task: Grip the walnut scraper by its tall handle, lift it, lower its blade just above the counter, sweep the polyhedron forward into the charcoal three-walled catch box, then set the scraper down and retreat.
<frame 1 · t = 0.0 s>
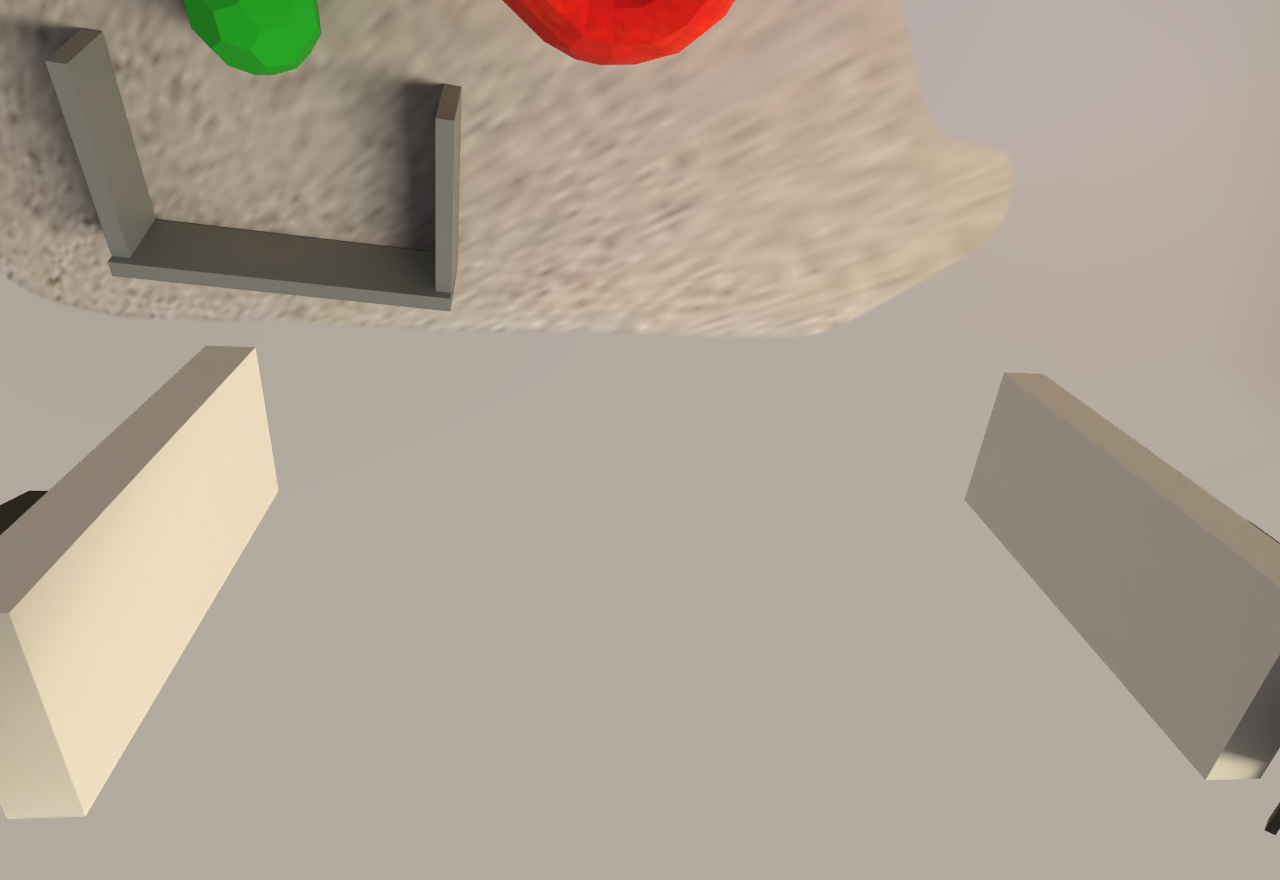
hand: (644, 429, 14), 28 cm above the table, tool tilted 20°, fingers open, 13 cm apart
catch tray: (293, 163, 39), on the table
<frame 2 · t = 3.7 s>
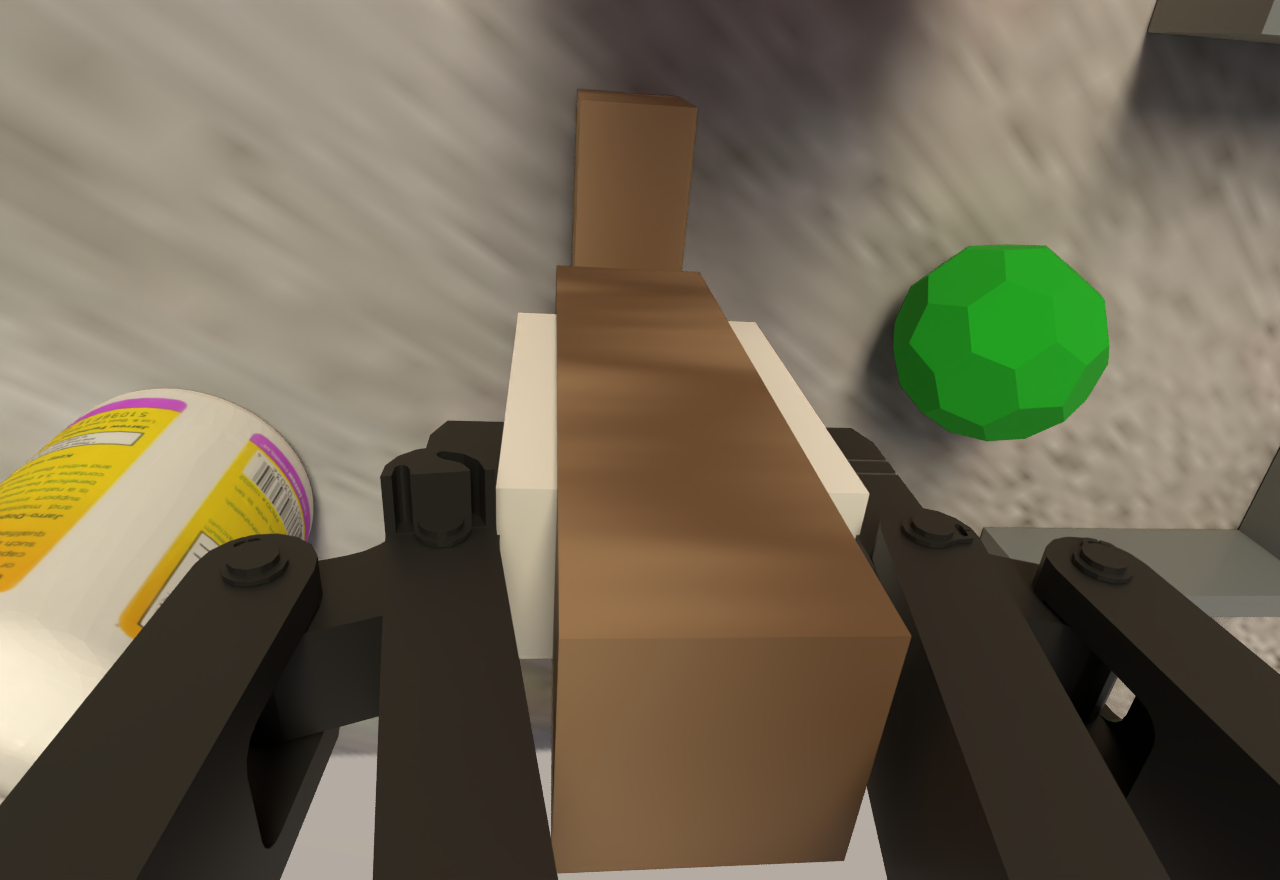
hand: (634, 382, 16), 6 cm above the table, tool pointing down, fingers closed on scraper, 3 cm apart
supplement bottle: (202, 483, 23), on the table
polyhedron: (951, 309, 22), on the table
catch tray: (1213, 323, 23), on the table
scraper: (615, 297, 21), on the table, touching gripper
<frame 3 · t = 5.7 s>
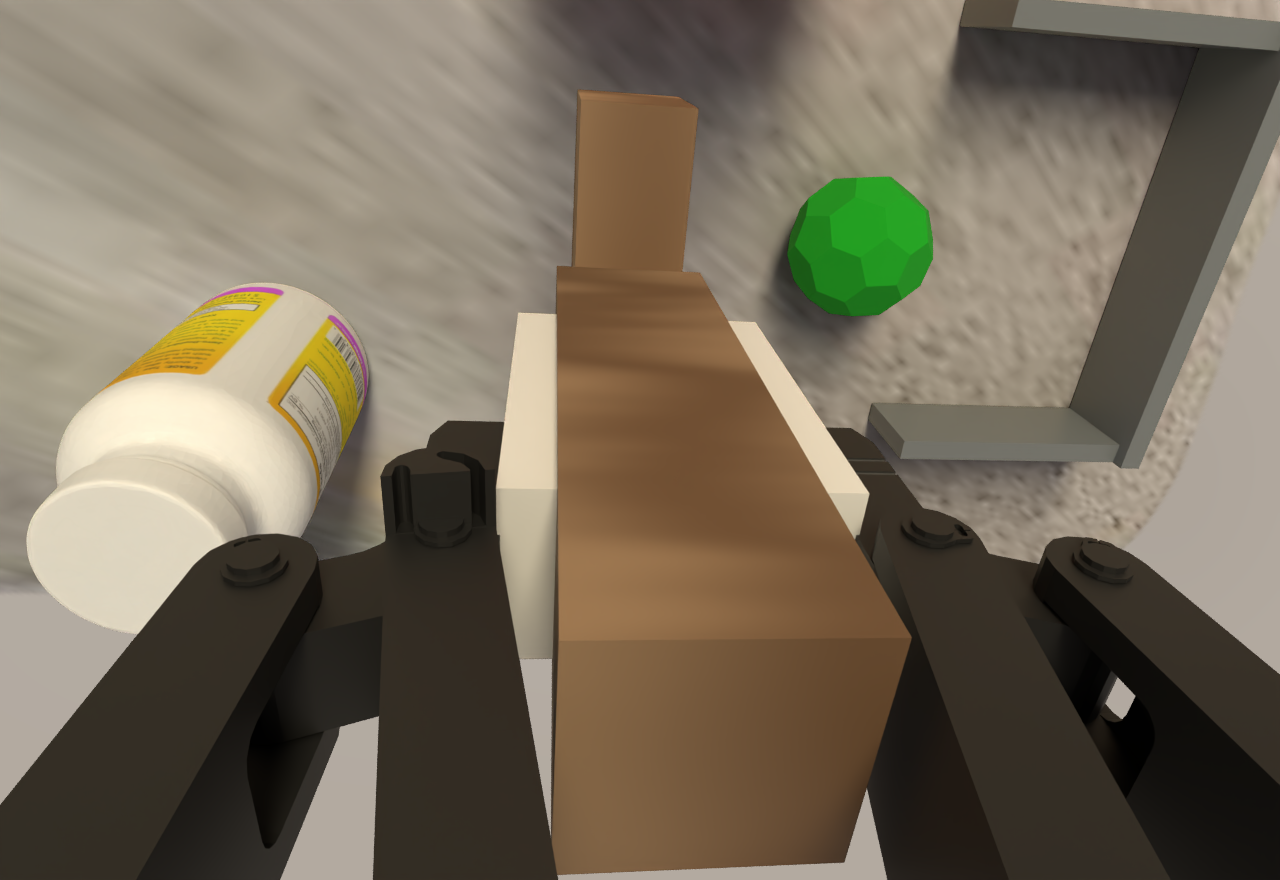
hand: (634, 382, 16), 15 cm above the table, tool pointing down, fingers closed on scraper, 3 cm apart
supplement bottle: (285, 359, 31), on the table
polyhedron: (835, 229, 30), on the table
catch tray: (1030, 241, 31), on the table
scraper: (615, 297, 21), point 9 cm above the table, touching gripper
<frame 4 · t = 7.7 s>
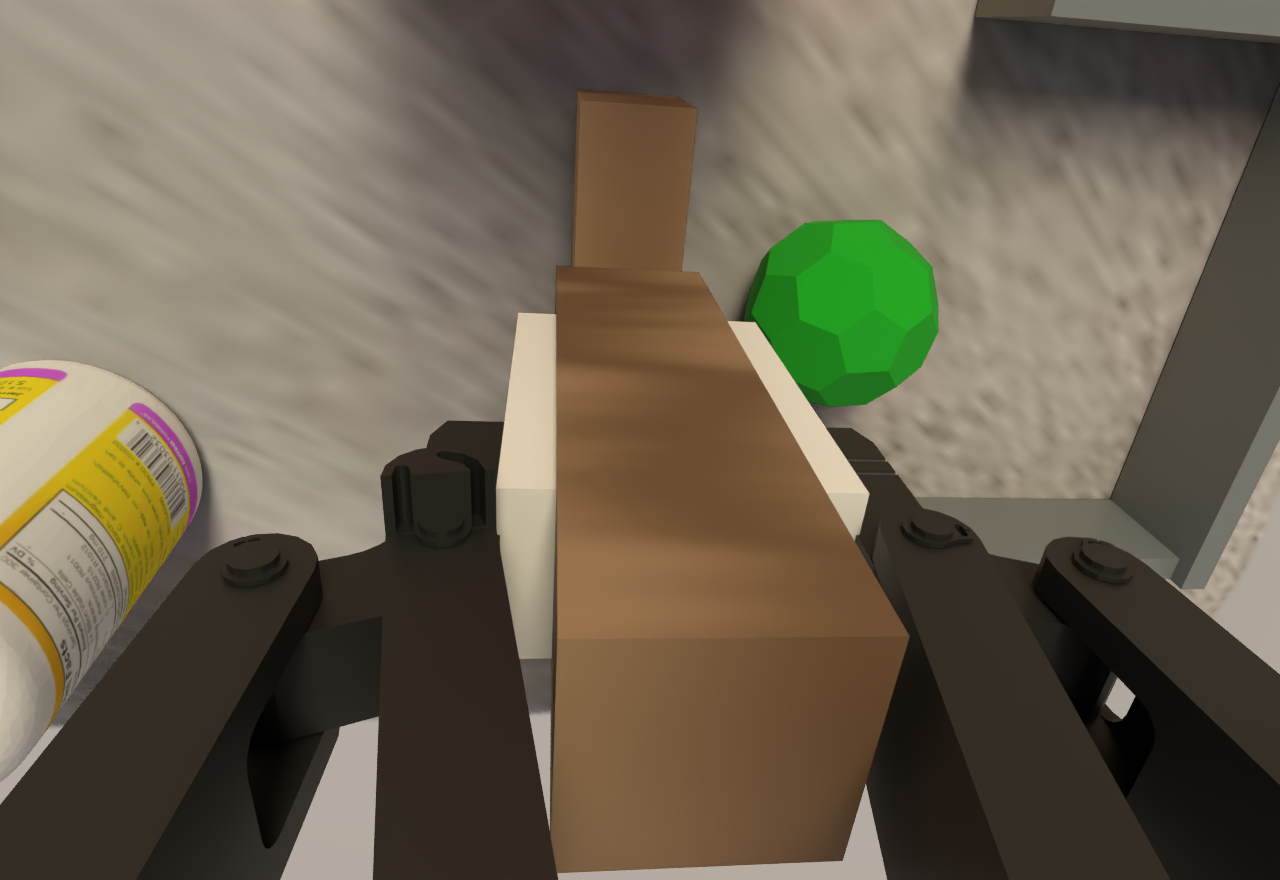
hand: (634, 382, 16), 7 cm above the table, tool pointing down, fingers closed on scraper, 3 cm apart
supplement bottle: (95, 453, 24), on the table
polyhedron: (811, 284, 23), on the table
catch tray: (1065, 297, 24), on the table
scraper: (615, 297, 21), point 2 cm above the table, touching gripper
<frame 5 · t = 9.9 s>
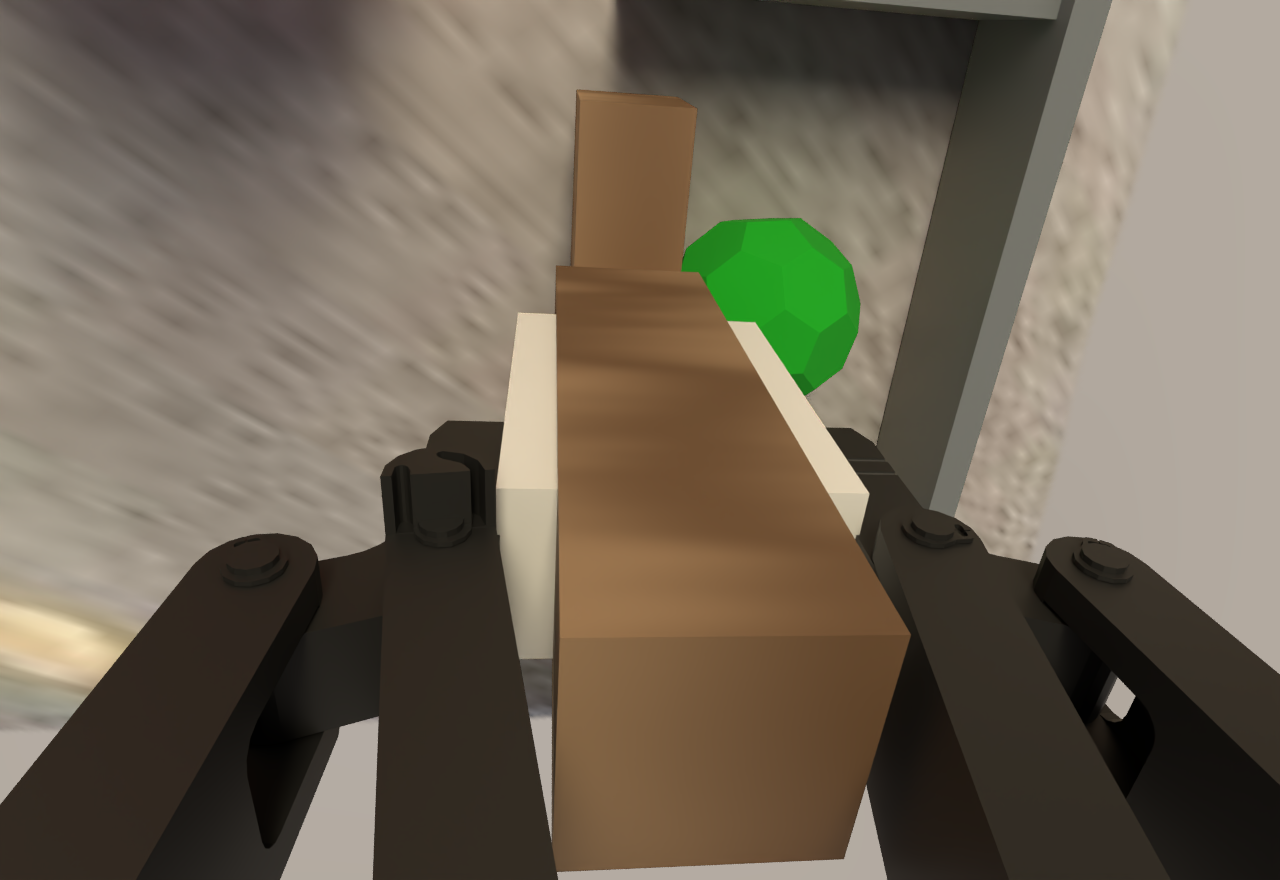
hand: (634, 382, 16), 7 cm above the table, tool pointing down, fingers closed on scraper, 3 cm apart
polyhedron: (739, 284, 23), on the table, touching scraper
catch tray: (773, 290, 23), on the table
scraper: (614, 297, 21), point 1 cm above the table, touching gripper, polyhedron
when the fingers open (6 cm above the table, at t = 11.8 s): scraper stays where it is, on the table.
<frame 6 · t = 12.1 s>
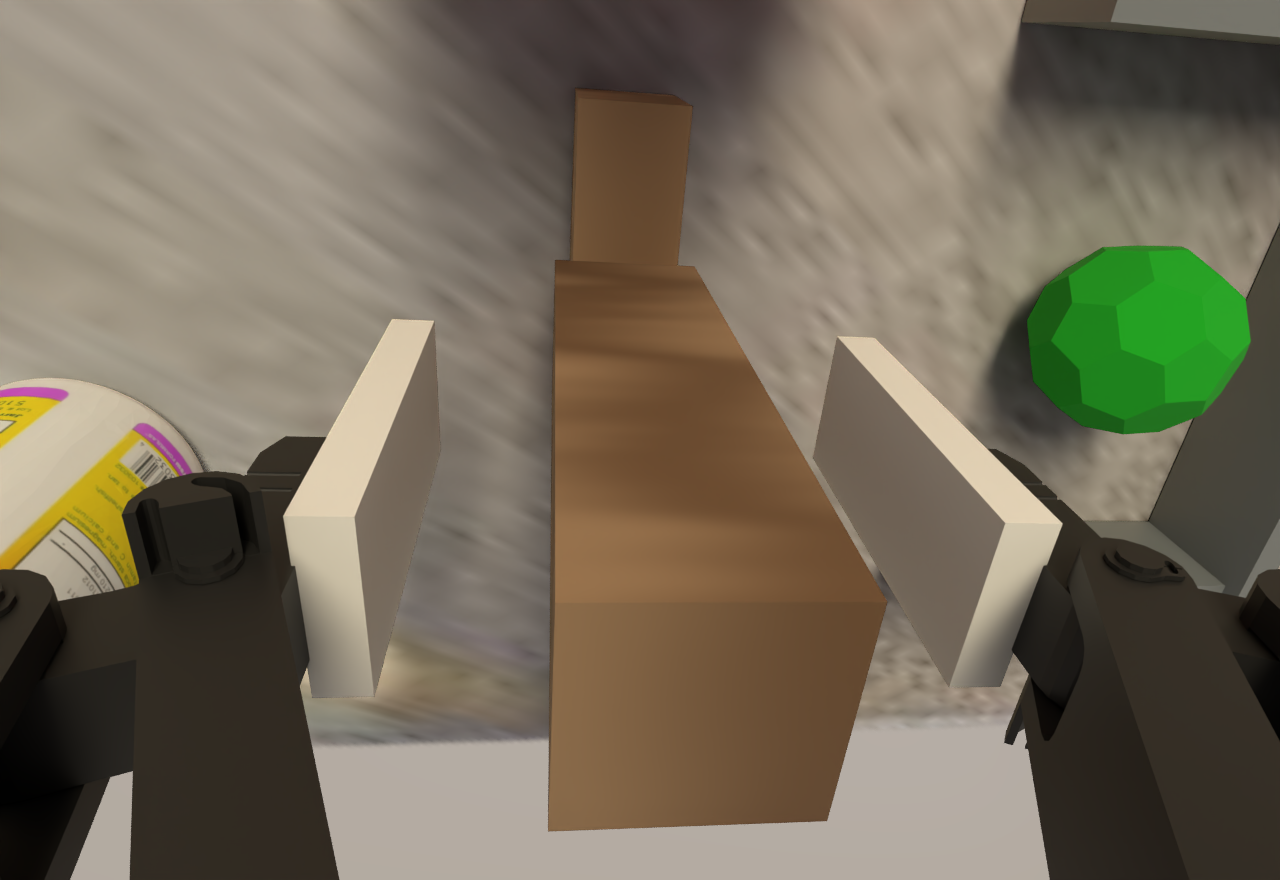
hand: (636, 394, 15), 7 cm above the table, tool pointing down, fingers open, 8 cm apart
supplement bottle: (98, 473, 23), on the table
polyhedron: (1073, 308, 23), on the table
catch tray: (1108, 314, 23), on the table
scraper: (613, 292, 21), on the table
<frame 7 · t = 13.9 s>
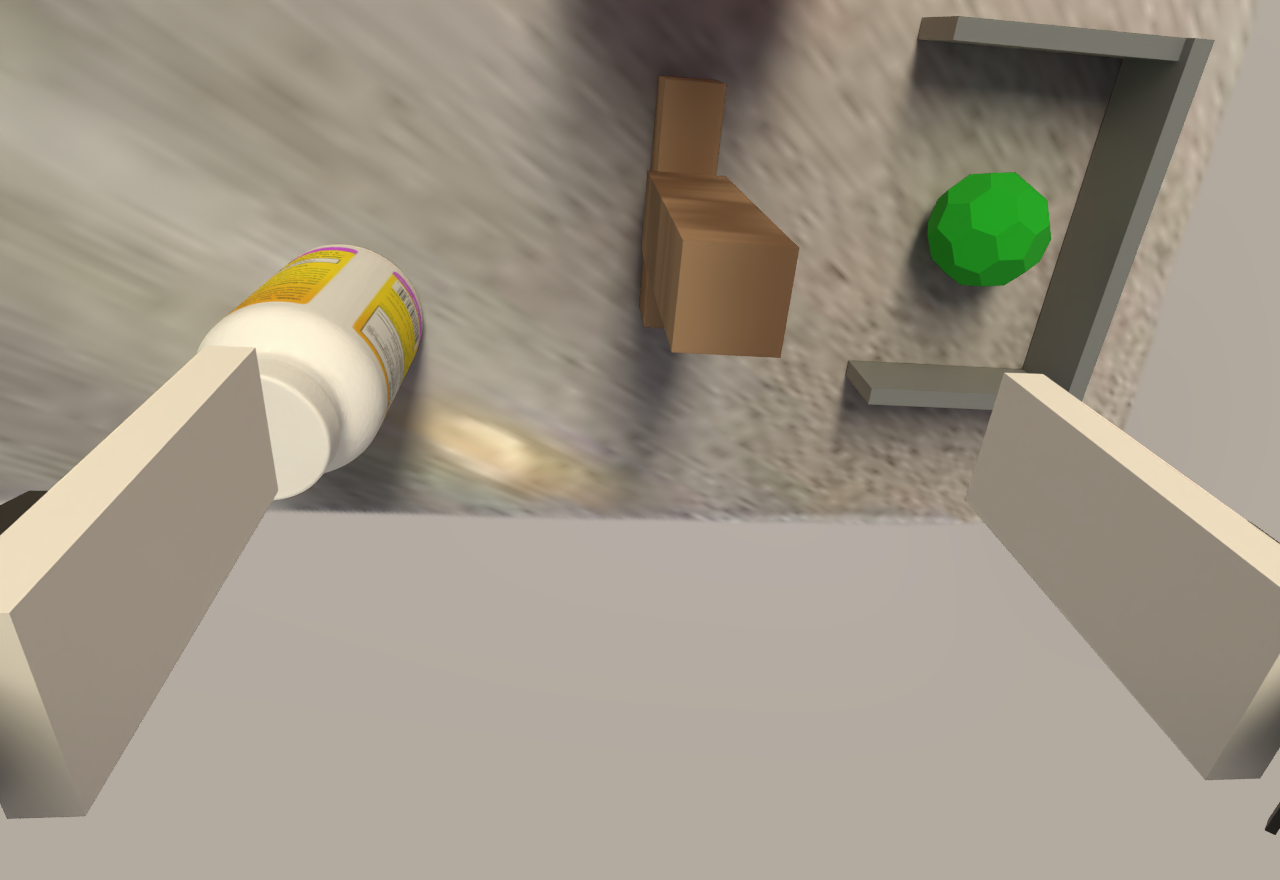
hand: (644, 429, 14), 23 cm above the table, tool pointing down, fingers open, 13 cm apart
supplement bottle: (354, 311, 37), on the table
polyhedron: (962, 217, 37), on the table
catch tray: (983, 221, 37), on the table
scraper: (674, 199, 35), on the table
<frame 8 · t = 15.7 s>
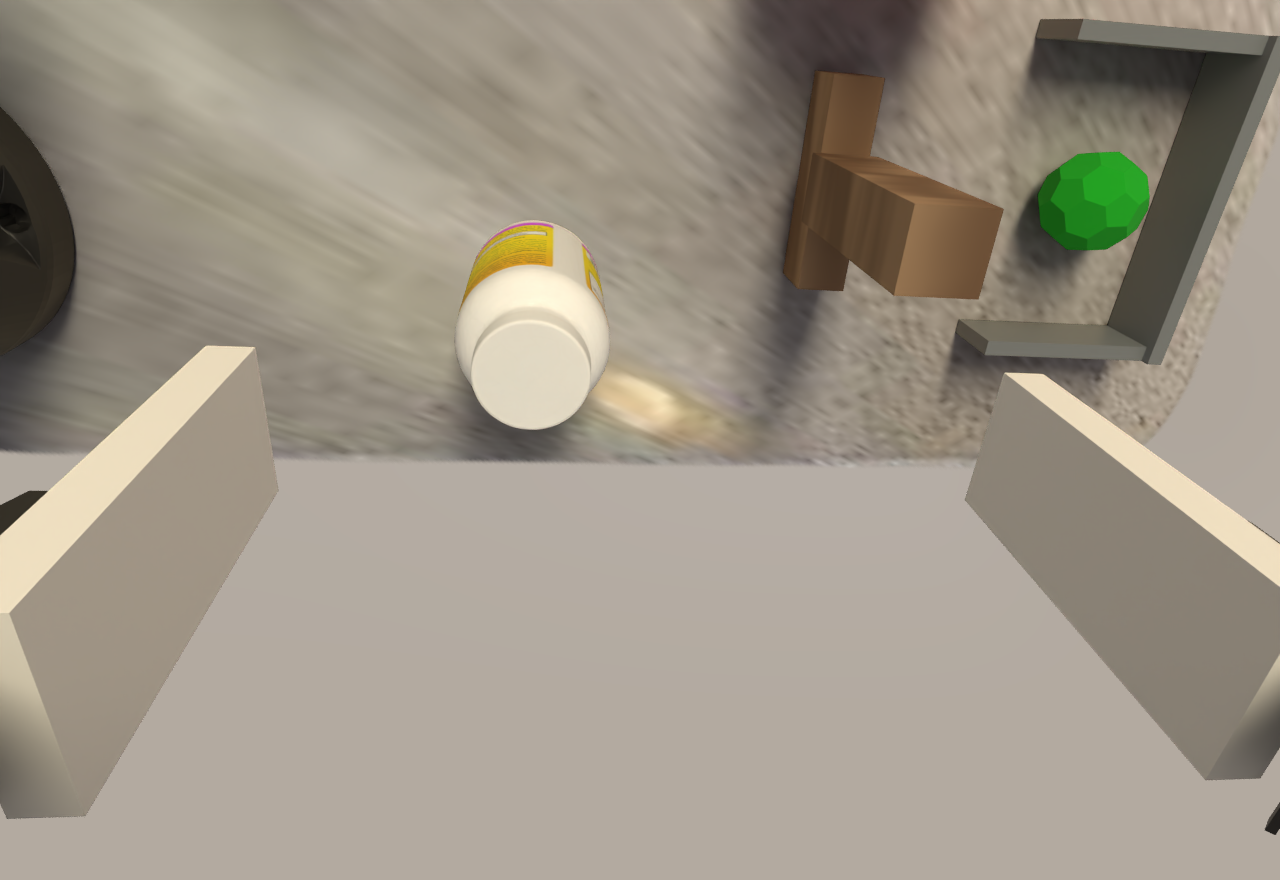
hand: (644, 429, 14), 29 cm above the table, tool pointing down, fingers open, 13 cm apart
supplement bottle: (536, 280, 42), on the table
polyhedron: (1063, 192, 42), on the table
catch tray: (1081, 195, 42), on the table
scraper: (820, 178, 41), on the table
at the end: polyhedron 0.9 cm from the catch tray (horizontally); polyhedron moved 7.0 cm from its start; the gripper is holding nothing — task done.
